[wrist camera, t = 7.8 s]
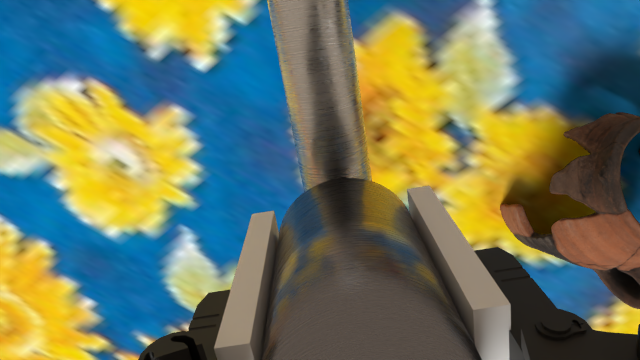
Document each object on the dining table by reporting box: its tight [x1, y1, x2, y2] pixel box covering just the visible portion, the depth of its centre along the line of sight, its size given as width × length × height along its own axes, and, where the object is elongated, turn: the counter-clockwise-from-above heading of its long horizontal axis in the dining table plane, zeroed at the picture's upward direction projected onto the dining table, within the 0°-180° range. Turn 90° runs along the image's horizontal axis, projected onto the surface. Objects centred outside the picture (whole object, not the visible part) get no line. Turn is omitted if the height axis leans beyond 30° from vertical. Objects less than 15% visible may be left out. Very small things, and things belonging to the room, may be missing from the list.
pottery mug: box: [500, 112, 640, 309], centre depth 27 cm, size 12×9×8 cm
